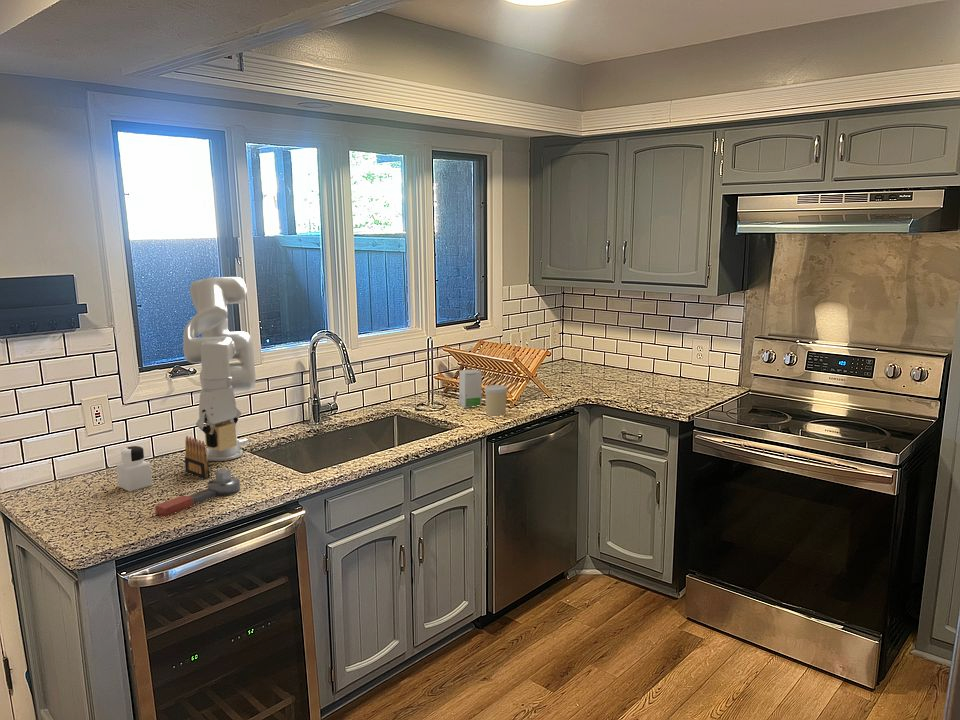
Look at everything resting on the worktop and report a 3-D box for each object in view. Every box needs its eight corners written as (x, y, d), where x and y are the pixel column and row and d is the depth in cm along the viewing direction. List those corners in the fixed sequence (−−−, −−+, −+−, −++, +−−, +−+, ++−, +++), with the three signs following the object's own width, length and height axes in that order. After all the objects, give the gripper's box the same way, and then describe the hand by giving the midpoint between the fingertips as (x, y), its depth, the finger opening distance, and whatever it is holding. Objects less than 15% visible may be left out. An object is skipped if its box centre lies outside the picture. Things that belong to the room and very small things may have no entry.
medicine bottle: (141, 480, 224) (138, 442, 222) (152, 485, 219) (149, 447, 217) (118, 486, 218) (114, 448, 216) (129, 492, 214) (125, 453, 212)
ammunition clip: (185, 472, 231) (182, 435, 229) (190, 470, 232) (187, 434, 230) (204, 479, 225) (202, 442, 222) (210, 477, 226) (207, 440, 224)
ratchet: (225, 483, 221) (224, 463, 220) (246, 488, 217) (245, 469, 216) (150, 512, 199) (148, 491, 198) (171, 518, 195) (169, 497, 194)
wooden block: (222, 442, 217) (220, 420, 215) (236, 445, 214) (235, 422, 212) (205, 448, 212) (204, 424, 210) (220, 451, 209) (218, 427, 207)
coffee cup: (492, 411, 304) (493, 383, 302) (511, 415, 299) (511, 386, 297) (479, 416, 297) (479, 387, 294) (498, 420, 291) (498, 390, 289)
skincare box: (464, 409, 308) (464, 373, 305) (458, 405, 314) (458, 370, 311) (482, 406, 312) (482, 371, 309) (476, 403, 318) (476, 368, 315)
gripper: (231, 377, 218) (235, 434, 222) (182, 388, 204) (187, 449, 207) (249, 379, 215) (252, 438, 218) (200, 391, 200) (205, 453, 203)
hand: (220, 443), depth 212 cm, fingers closed on wooden block, 6 cm apart
